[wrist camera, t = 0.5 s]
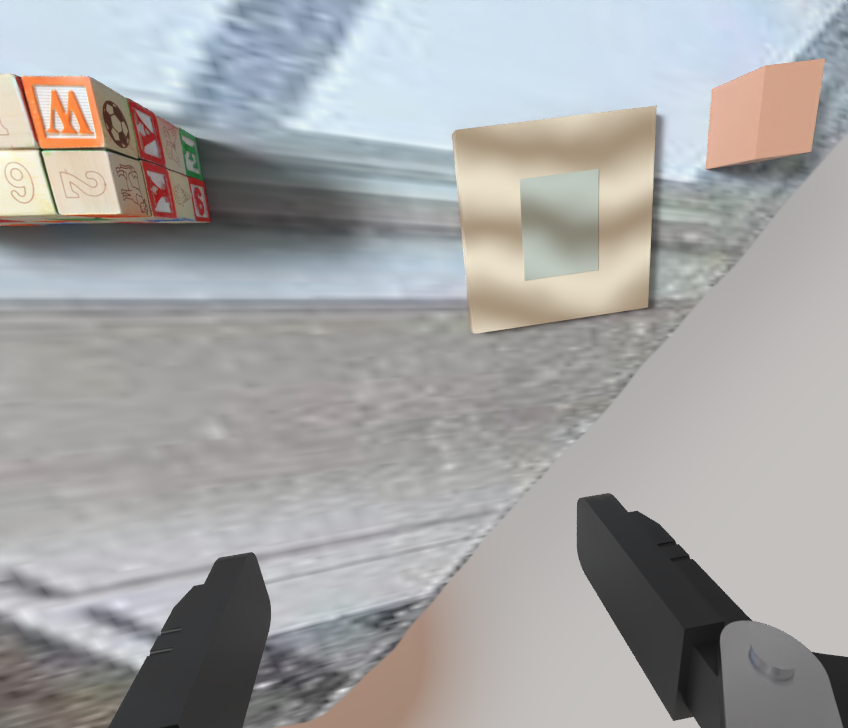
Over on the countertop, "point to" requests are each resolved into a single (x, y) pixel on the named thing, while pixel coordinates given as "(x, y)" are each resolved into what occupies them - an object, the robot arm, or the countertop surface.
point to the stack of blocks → (92, 157)
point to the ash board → (556, 217)
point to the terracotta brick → (764, 114)
